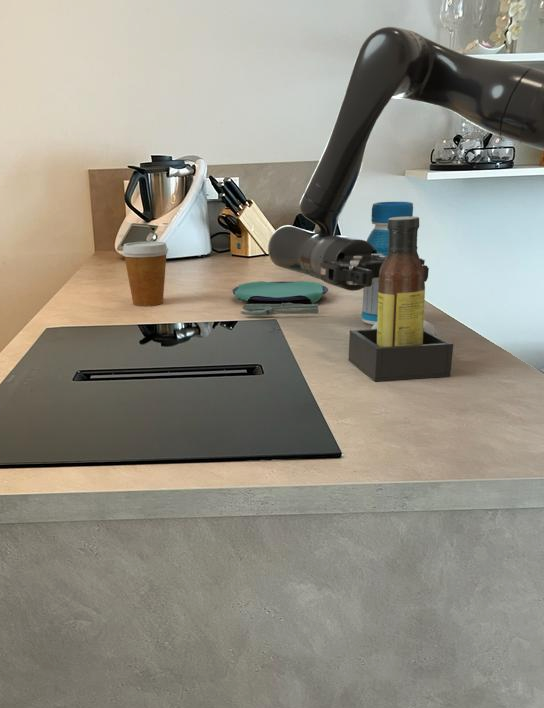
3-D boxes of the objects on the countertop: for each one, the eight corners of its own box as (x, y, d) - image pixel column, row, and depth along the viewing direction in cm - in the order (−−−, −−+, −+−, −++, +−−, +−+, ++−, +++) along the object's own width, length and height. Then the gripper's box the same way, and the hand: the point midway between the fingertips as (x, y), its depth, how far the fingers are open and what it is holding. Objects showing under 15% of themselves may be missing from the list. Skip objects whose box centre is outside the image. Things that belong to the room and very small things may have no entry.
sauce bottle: (426, 361, 112) (439, 215, 104) (413, 372, 107) (426, 219, 99) (381, 357, 115) (390, 214, 107) (367, 367, 110) (375, 219, 102)
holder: (417, 356, 117) (419, 325, 115) (450, 376, 106) (453, 343, 105) (348, 360, 116) (349, 330, 114) (374, 381, 105) (376, 348, 104)
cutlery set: (327, 290, 171) (328, 279, 170) (328, 318, 144) (329, 305, 143) (236, 290, 174) (236, 280, 173) (221, 318, 147) (221, 306, 146)
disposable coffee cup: (152, 297, 170) (148, 240, 166) (180, 302, 164) (177, 242, 159) (116, 303, 165) (112, 244, 160) (143, 309, 158) (140, 247, 153)
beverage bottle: (357, 325, 137) (364, 205, 129) (363, 316, 144) (370, 201, 137) (407, 327, 134) (417, 204, 127) (411, 317, 142) (420, 200, 134)
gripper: (301, 239, 118) (352, 251, 104) (385, 233, 122) (446, 244, 108) (300, 290, 121) (349, 308, 107) (382, 283, 125) (441, 299, 111)
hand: (398, 276), depth 107 cm, fingers open, 8 cm apart
